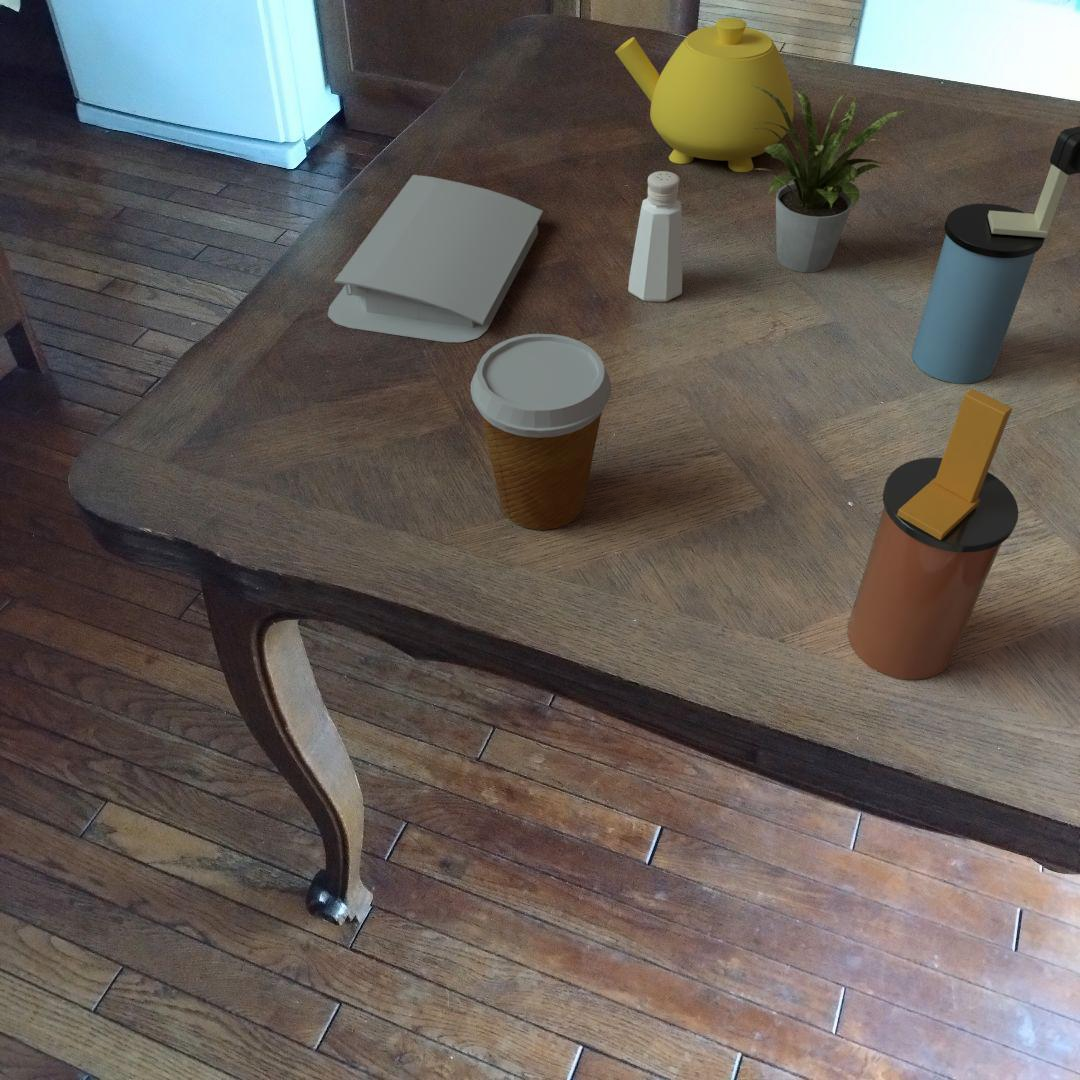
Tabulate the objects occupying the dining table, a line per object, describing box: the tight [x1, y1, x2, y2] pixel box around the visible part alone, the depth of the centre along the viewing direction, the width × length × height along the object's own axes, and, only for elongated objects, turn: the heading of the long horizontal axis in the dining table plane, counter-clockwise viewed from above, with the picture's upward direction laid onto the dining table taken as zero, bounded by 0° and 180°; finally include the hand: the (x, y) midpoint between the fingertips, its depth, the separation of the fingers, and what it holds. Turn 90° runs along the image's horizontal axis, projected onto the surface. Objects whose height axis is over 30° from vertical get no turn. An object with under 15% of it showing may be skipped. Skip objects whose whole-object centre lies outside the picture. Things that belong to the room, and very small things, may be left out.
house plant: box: [751, 85, 908, 273], centre depth 97 cm, size 14×14×16 cm
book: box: [327, 174, 544, 344], centre depth 101 cm, size 15×23×4 cm, turn 165°
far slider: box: [988, 164, 1070, 239], centre depth 80 cm, size 4×3×7 cm
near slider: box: [897, 388, 1013, 540], centre depth 58 cm, size 4×3×7 cm
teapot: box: [614, 17, 795, 173], centre depth 115 cm, size 20×16×14 cm
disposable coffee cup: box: [470, 333, 612, 531], centre depth 75 cm, size 10×10×12 cm
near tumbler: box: [847, 456, 1019, 681], centre depth 65 cm, size 7×7×13 cm
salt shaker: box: [627, 170, 683, 303], centre depth 96 cm, size 5×5×11 cm
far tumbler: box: [911, 203, 1046, 385], centre depth 87 cm, size 7×7×13 cm
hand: (1062, 153), depth 63 cm, fingers closed
